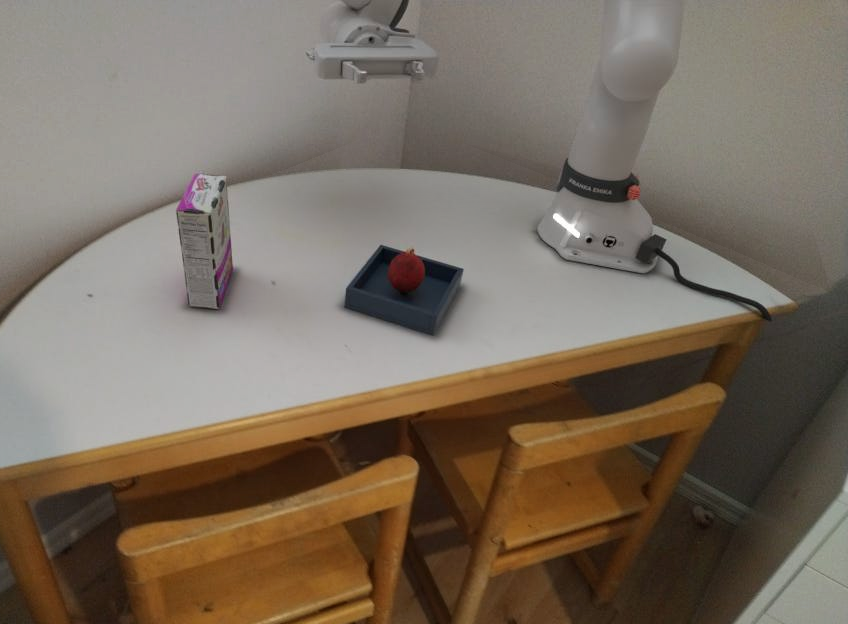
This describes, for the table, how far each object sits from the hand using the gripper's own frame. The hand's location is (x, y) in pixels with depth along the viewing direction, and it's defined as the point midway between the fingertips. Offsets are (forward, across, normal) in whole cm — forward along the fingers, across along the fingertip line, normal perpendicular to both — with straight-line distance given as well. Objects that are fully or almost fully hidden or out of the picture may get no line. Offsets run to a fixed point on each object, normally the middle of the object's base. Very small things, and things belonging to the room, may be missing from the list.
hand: (391, 78), depth 98 cm
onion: (+18, -1, +27) cm, 33 cm away
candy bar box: (+11, -30, +28) cm, 43 cm away
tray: (+18, -1, +28) cm, 33 cm away
